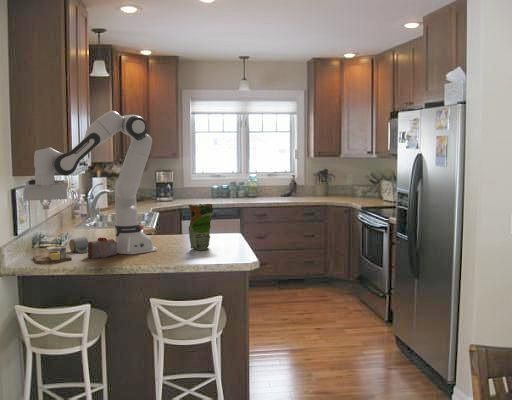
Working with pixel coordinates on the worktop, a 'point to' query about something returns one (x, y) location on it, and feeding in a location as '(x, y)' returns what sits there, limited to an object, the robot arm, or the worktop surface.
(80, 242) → the ceramic mug
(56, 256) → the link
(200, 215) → the pouch
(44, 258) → the base
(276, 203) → the worktop surface
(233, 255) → the worktop surface
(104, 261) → the worktop surface
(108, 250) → the small brown suitcase
